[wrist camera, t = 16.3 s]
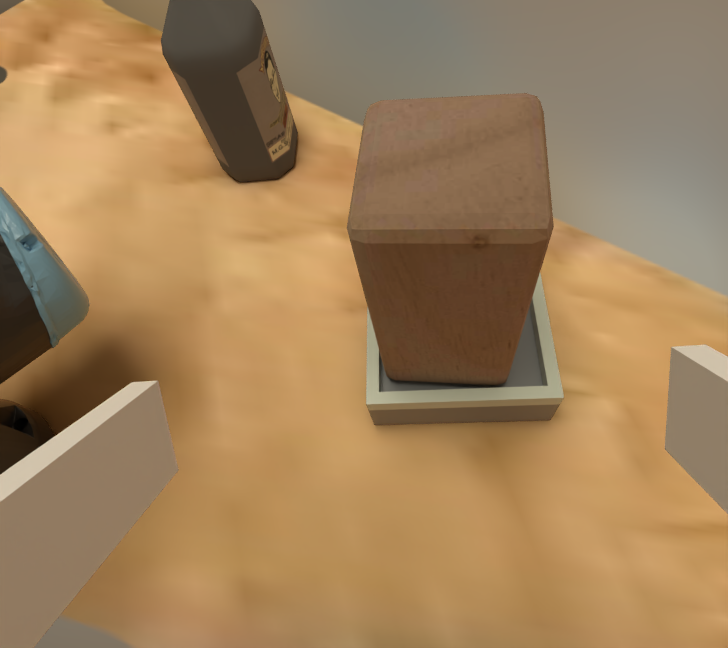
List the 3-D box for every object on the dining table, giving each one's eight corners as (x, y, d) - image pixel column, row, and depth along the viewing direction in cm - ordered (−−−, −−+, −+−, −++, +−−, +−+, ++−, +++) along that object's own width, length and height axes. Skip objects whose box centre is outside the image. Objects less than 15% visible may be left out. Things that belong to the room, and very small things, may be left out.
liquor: (223, 186, 61) (58, -118, 35) (234, 135, 65) (94, -169, 39) (294, 179, 60) (179, -141, 34) (300, 128, 64) (202, -191, 38)
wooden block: (508, 390, 39) (559, 229, 22) (384, 384, 41) (340, 230, 24) (505, 285, 44) (545, 83, 26) (394, 283, 46) (363, 93, 28)
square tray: (374, 425, 44) (366, 404, 39) (375, 283, 51) (368, 251, 46) (550, 420, 42) (563, 397, 37) (524, 273, 49) (533, 239, 44)
